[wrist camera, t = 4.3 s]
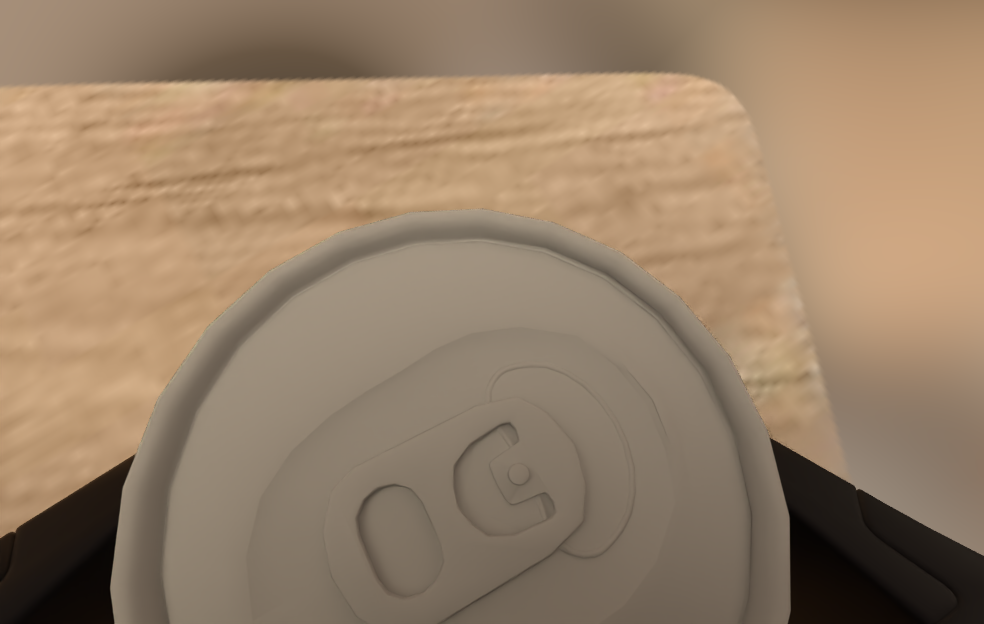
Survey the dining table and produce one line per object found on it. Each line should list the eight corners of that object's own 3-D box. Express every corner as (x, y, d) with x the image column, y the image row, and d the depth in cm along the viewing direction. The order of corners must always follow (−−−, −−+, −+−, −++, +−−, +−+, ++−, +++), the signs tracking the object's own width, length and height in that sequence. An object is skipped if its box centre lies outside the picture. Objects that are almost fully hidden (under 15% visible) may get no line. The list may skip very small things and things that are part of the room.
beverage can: (570, 524, 15) (961, 669, 3) (417, 615, 14) (234, 1254, 2) (493, 376, 16) (587, 113, 5) (347, 450, 15) (4, 347, 4)
